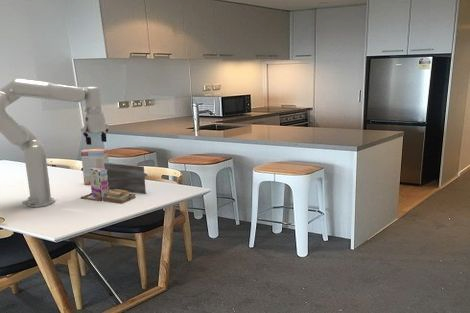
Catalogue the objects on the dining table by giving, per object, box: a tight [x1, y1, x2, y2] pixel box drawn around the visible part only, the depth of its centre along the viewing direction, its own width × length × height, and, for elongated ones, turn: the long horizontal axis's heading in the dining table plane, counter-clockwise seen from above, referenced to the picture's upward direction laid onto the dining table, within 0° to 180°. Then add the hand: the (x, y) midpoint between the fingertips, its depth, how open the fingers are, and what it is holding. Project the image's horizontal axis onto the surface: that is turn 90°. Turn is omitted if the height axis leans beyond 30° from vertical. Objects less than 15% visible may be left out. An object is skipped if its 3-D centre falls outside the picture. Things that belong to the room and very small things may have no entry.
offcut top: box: [107, 189, 128, 198], centre depth 208 cm, size 6×8×2 cm
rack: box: [80, 162, 147, 205], centre depth 213 cm, size 20×26×16 cm
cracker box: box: [80, 148, 109, 186], centre depth 241 cm, size 14×6×21 cm, turn 84°
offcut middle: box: [106, 193, 130, 200], centre depth 208 cm, size 7×9×2 cm
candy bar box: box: [89, 167, 110, 201], centre depth 212 cm, size 11×5×16 cm, turn 45°
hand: (96, 143), depth 214 cm, fingers open, 9 cm apart
